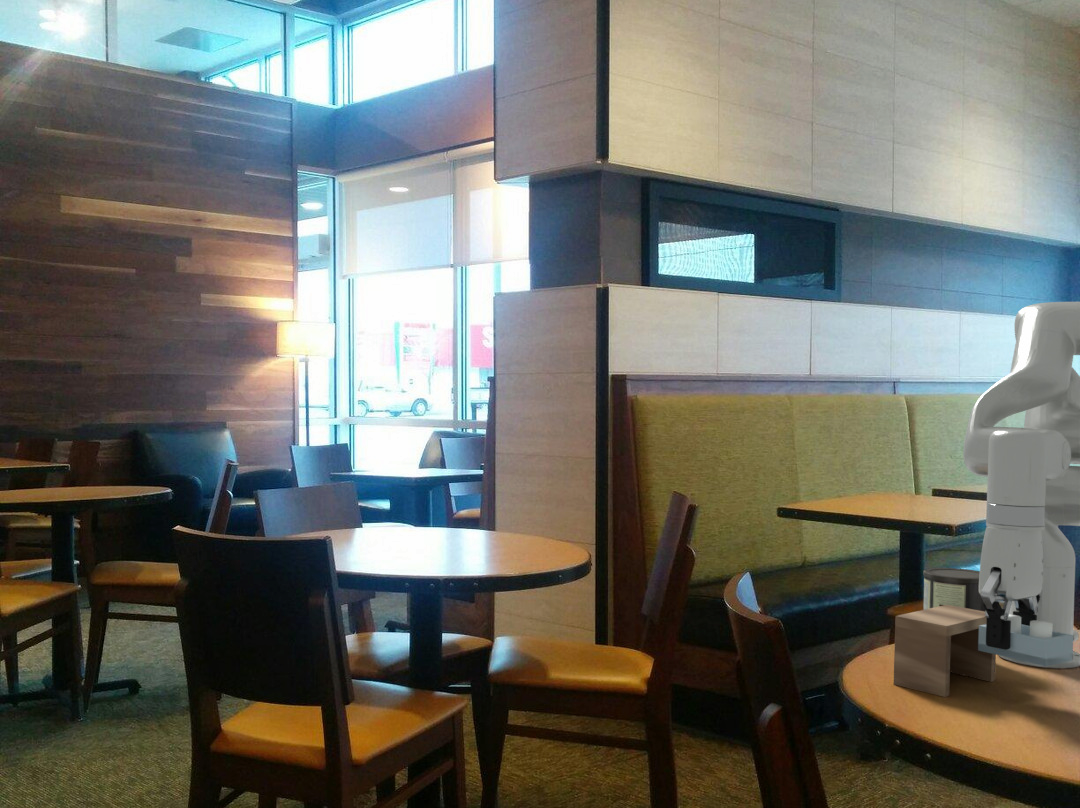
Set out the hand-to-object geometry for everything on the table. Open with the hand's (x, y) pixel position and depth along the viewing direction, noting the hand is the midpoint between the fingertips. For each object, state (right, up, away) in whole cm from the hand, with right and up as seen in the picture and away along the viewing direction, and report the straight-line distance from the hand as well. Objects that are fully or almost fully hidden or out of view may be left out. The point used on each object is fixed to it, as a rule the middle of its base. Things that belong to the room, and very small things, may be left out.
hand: (1011, 643), depth 150 cm
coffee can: (0, -8, +22) cm, 23 cm away
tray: (+1, -1, -2) cm, 2 cm away
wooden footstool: (-6, -8, +8) cm, 13 cm away
